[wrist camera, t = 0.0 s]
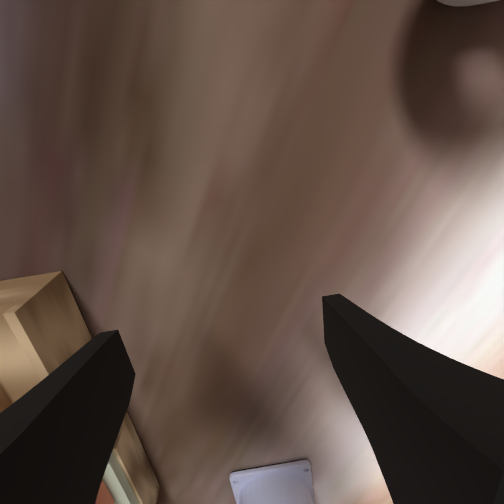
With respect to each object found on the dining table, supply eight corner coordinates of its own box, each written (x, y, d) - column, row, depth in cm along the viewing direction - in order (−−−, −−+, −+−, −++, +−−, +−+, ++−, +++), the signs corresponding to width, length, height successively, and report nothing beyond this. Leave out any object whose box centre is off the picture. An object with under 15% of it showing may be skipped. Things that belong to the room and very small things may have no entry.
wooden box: (159, 485, 29) (152, 522, 26) (-3, 513, 29) (-27, 553, 26) (125, 407, 25) (112, 442, 22) (-66, 439, 25) (-103, 478, 22)
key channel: (122, 407, 25) (100, 468, 20) (68, 416, 25) (33, 479, 20) (61, 271, 20) (14, 312, 15) (-8, 281, 20) (-75, 326, 15)
